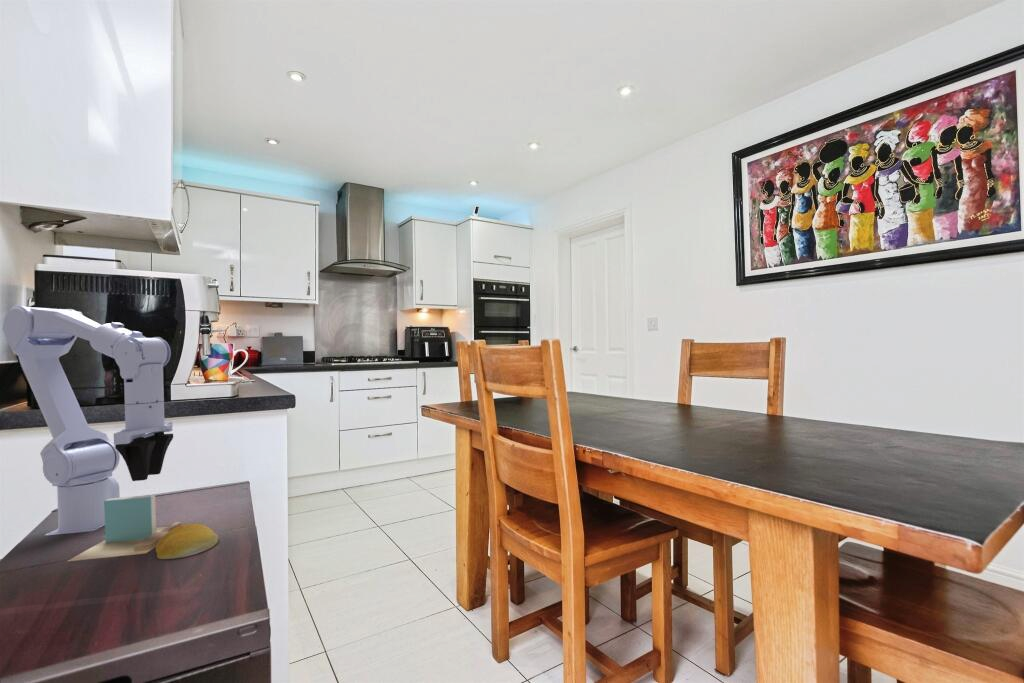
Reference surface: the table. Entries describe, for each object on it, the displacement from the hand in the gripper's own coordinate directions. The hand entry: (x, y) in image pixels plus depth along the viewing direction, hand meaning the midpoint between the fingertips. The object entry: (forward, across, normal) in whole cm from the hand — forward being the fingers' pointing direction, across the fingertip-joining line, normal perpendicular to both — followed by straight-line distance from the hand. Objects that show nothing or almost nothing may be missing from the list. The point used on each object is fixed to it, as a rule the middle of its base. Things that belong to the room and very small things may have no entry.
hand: (146, 477), depth 87 cm
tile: (+9, -5, 0) cm, 11 cm away
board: (+10, -6, -1) cm, 12 cm away
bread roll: (+10, -12, -12) cm, 20 cm away
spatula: (+9, -6, -5) cm, 12 cm away
